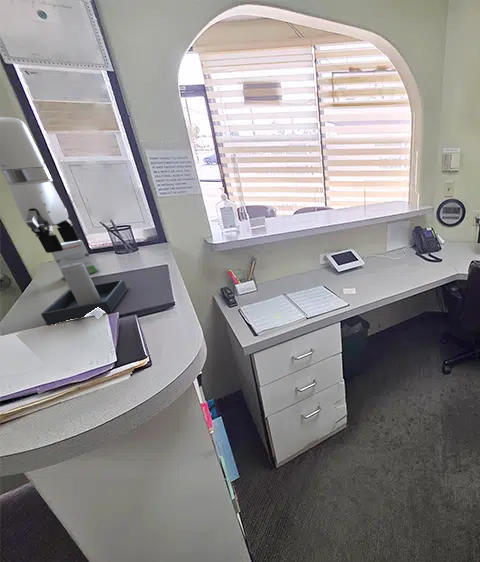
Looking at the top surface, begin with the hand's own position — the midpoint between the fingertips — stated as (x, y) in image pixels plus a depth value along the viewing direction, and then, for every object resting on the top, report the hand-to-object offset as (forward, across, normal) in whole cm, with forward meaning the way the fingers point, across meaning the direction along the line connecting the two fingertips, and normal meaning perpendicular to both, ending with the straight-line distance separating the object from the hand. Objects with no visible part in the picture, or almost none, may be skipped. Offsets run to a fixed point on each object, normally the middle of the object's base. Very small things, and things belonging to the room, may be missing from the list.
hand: (64, 246), depth 80 cm
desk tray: (+17, 0, -1) cm, 17 cm away
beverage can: (+17, 0, -1) cm, 17 cm away
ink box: (+18, -33, -14) cm, 40 cm away
